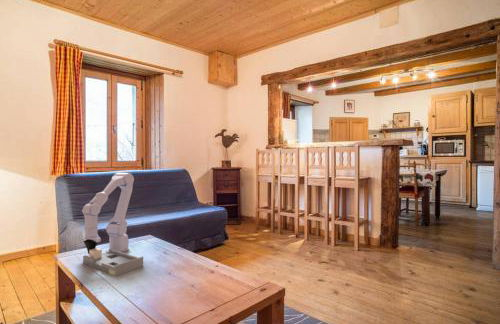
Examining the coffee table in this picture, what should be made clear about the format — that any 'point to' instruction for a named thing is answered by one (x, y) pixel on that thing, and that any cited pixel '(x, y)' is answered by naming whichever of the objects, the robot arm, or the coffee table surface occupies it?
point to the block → (95, 253)
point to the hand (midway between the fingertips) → (91, 254)
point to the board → (114, 262)
